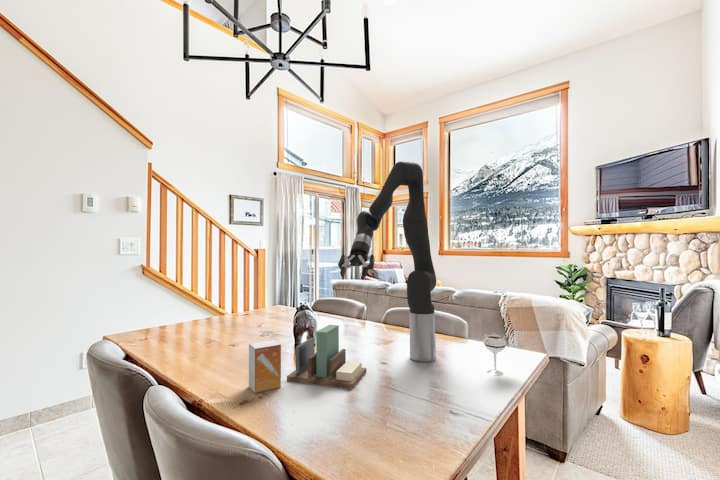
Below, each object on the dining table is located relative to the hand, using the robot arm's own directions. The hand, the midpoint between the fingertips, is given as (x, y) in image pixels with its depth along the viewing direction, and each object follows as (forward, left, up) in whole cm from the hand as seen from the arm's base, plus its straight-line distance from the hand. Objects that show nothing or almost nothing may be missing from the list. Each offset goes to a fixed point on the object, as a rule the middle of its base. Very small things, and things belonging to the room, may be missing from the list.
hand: (352, 276), depth 133 cm
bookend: (+9, +23, -29) cm, 38 cm away
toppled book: (-7, +23, -29) cm, 37 cm away
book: (+1, +22, -29) cm, 37 cm away
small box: (+16, +36, -31) cm, 50 cm away
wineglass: (-51, +4, -31) cm, 60 cm away
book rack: (+1, +23, -31) cm, 38 cm away
